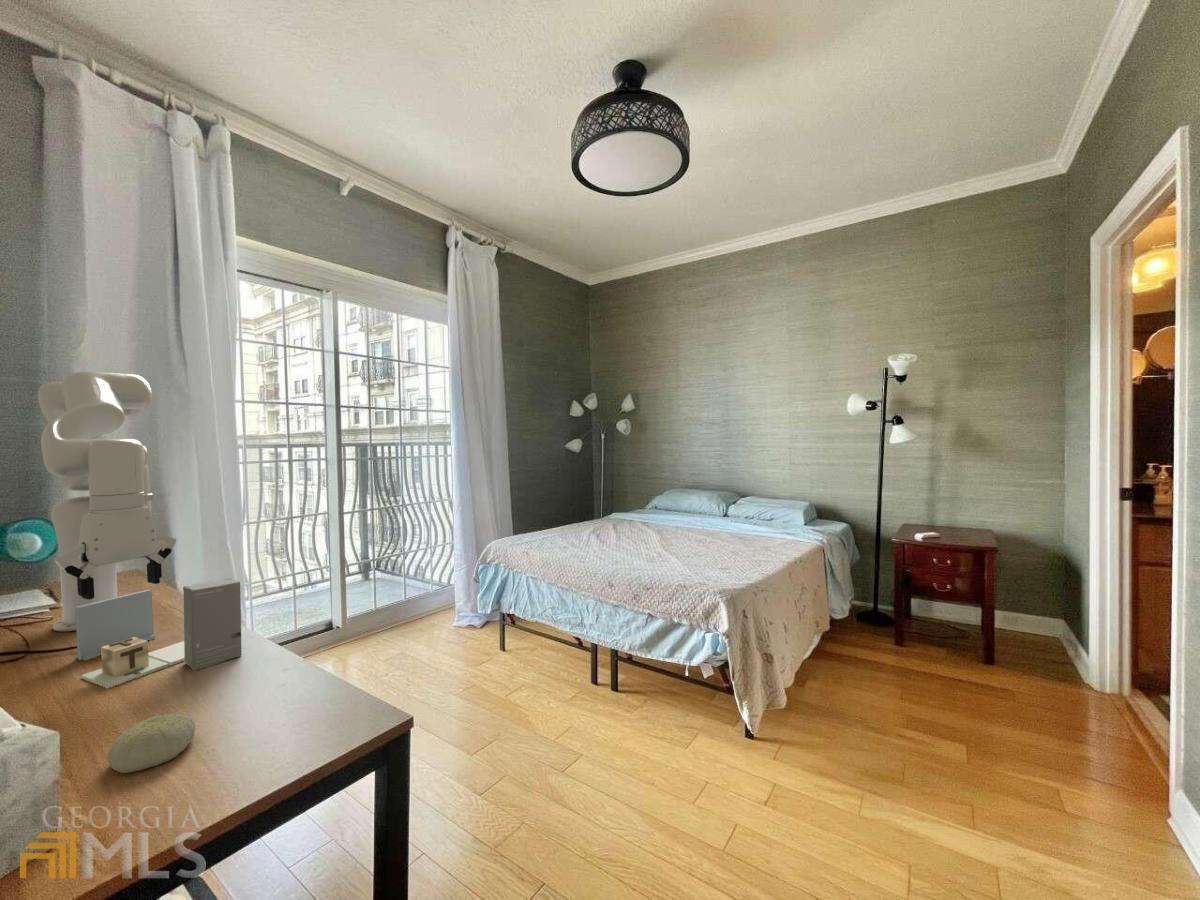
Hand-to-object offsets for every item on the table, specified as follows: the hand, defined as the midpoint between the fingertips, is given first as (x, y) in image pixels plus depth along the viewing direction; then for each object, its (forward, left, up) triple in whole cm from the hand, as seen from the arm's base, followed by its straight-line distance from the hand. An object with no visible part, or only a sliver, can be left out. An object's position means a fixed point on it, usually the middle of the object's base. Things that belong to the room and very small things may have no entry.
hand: (122, 590), depth 92 cm
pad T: (0, 0, -16) cm, 16 cm away
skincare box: (+10, +10, -16) cm, 22 cm away
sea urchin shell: (+36, -11, -17) cm, 41 cm away
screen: (-16, +5, -16) cm, 23 cm away
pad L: (0, +9, -16) cm, 19 cm away
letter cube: (0, 0, -16) cm, 16 cm away
